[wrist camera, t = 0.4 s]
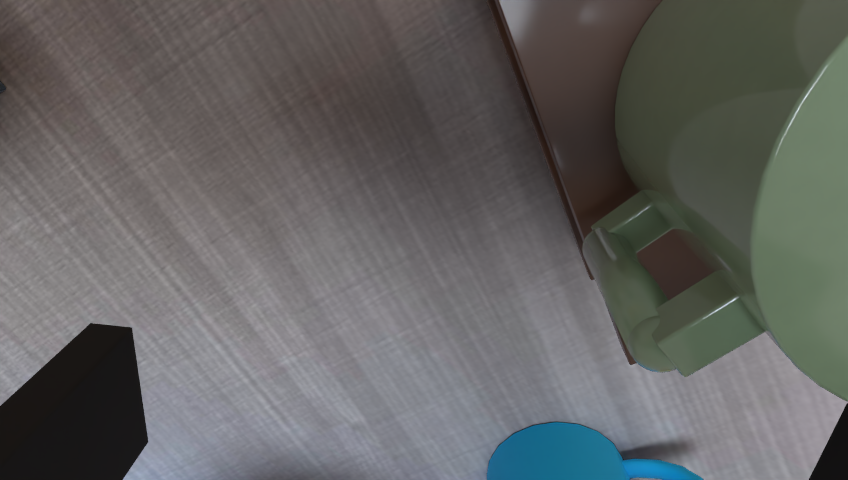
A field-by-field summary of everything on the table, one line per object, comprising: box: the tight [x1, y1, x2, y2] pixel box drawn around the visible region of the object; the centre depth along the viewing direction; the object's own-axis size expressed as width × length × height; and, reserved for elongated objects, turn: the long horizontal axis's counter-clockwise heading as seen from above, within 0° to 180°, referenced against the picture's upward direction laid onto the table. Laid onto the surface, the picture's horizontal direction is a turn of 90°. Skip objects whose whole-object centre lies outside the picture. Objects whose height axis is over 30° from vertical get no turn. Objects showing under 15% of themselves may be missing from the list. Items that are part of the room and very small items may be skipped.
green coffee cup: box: [582, 0, 848, 401], centre depth 12 cm, size 10×8×8 cm
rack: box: [486, 0, 711, 365], centre depth 20 cm, size 14×12×10 cm
